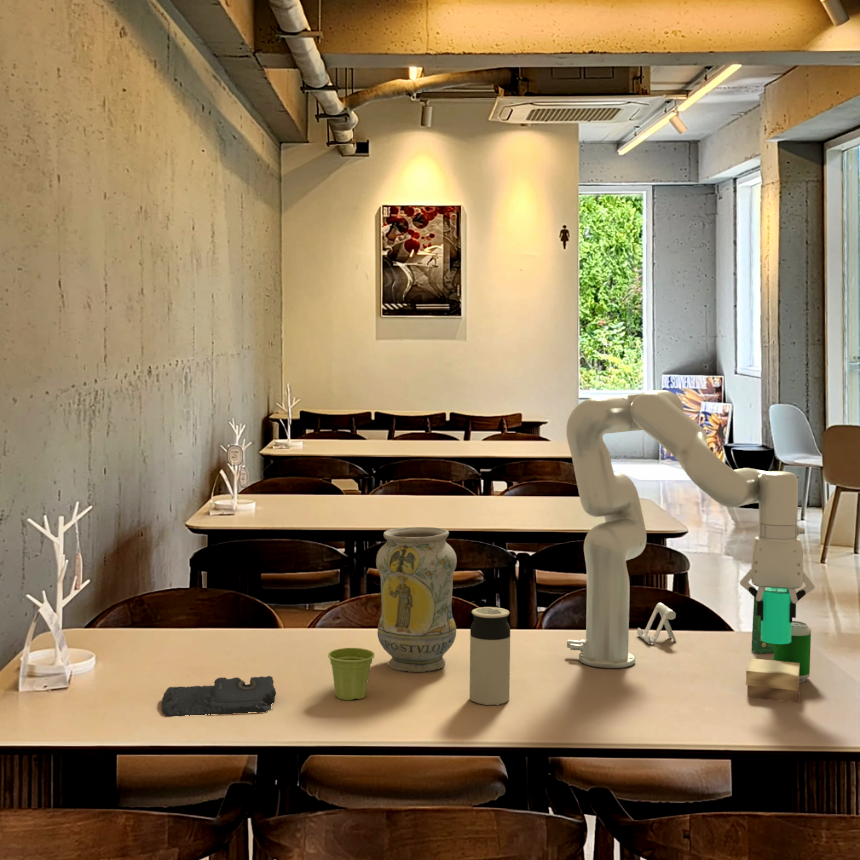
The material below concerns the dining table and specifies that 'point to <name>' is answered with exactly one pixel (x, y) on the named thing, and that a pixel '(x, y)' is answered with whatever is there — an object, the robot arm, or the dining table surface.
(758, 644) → the coffee box
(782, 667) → the oak block
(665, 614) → the portable electronic device stand
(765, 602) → the candle
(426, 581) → the vase
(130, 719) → the dining table surface
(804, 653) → the soda can
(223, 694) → the dark slate chunk
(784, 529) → the robot arm
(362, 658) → the plant pot
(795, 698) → the tan flat block
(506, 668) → the travel mug
